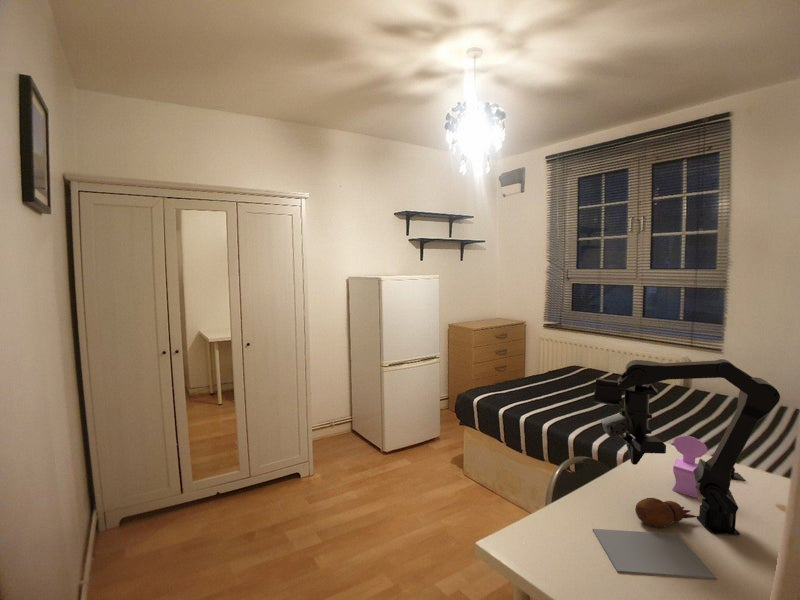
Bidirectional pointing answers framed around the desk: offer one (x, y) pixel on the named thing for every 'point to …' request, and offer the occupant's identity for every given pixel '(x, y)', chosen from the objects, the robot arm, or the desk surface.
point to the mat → (651, 554)
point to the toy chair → (687, 464)
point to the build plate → (736, 476)
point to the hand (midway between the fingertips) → (634, 463)
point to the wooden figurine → (660, 512)
